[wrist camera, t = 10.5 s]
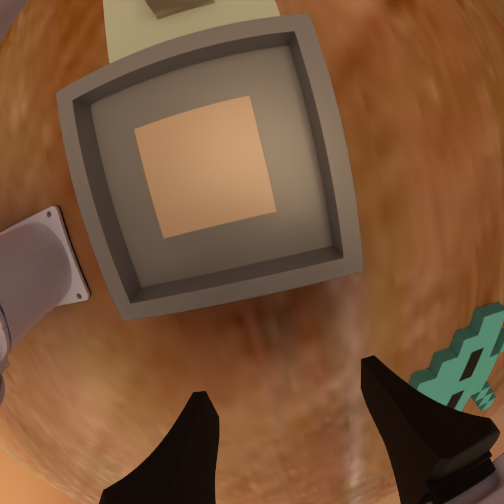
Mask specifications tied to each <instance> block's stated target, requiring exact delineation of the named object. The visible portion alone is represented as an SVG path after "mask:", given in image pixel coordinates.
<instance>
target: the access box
mask: <svg viewBox="0 0 504 504" xmlns="http://www.w3.org/2000/svg"><path fill="white" fill-rule="evenodd" d="M56 96H57V105H58V112H59V119H60V125H61V131H62V137H63V142H64V148H65V153H66V157H67V162H68V166H69V171H70V175H71V179H72V183H73V187H74V191H75V194H76V198H77V202H78V205H79V209H80V212H81V215H82V219H83V222H84V225H85V228H86V231H87V234H88V237H89V240H90V243H91V246H92V249H93V251H94V254H95V257H96V260H97V262H98V265H99V267H100V270H101V273H102V275H103V278H104V280H105V283H106V285H107V287H108V290H109V292H110V294H111V297H112V299H113V301H114V304H115V306H116V308H117V310H118V313H119V315H120V317H121V319H122V321H130V320H136V319H142V318H148V317H154V316H160V315H166V314H172V313H177V312H183V311H188V310H194V309H199V308H204V307H209V306H215V305H220V304H225V303H230V302H235V301H239V300H244V299H249V298H254V297H258V296H263V295H268V294H272V293H277V292H281V291H286V290H290V289H294V288H299V287H303V286H307V285H311V284H316V283H320V282H324V281H328V280H332V279H336V278H340V277H344V276H348V275H352V274H356V273H360V272H363V271H364V269H363V257H362V246H361V237H360V228H359V219H358V212H357V204H356V197H355V191H354V185H353V178H352V173H351V167H350V161H349V156H348V151H347V146H346V141H345V136H344V132H343V127H342V123H341V118H340V114H339V110H338V106H337V102H336V98H335V94H334V90H333V87H332V83H331V79H330V76H329V72H328V69H327V66H326V62H325V59H324V56H323V53H322V49H321V46H320V43H319V40H318V37H317V34H316V31H315V29H314V26H313V23H312V20H311V18H310V15H309V14H296V15H285V16H275V17H267V18H260V19H254V20H248V21H242V22H237V23H231V24H227V25H222V26H218V27H213V28H209V29H205V30H201V31H198V32H194V33H190V34H187V35H184V36H180V37H177V38H174V39H171V40H168V41H165V42H162V43H159V44H156V45H153V46H151V47H148V48H145V49H143V50H140V51H138V52H135V53H133V54H130V55H128V56H126V57H123V58H121V59H119V60H117V61H114V62H112V63H110V64H108V65H106V66H104V67H102V68H100V69H98V70H96V71H94V72H92V73H90V74H88V75H86V76H84V77H82V78H81V79H79V80H77V81H75V82H73V83H72V84H70V85H68V86H66V87H65V88H63V89H61V90H60V91H58V92H57V93H56Z"/></svg>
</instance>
